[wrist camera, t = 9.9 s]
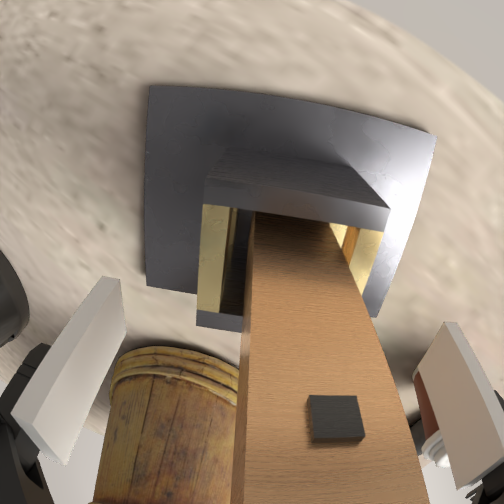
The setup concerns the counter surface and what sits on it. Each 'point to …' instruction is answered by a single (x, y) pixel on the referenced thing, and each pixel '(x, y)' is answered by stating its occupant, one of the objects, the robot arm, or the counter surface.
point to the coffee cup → (430, 426)
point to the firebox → (271, 189)
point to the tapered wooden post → (314, 380)
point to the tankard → (169, 429)
